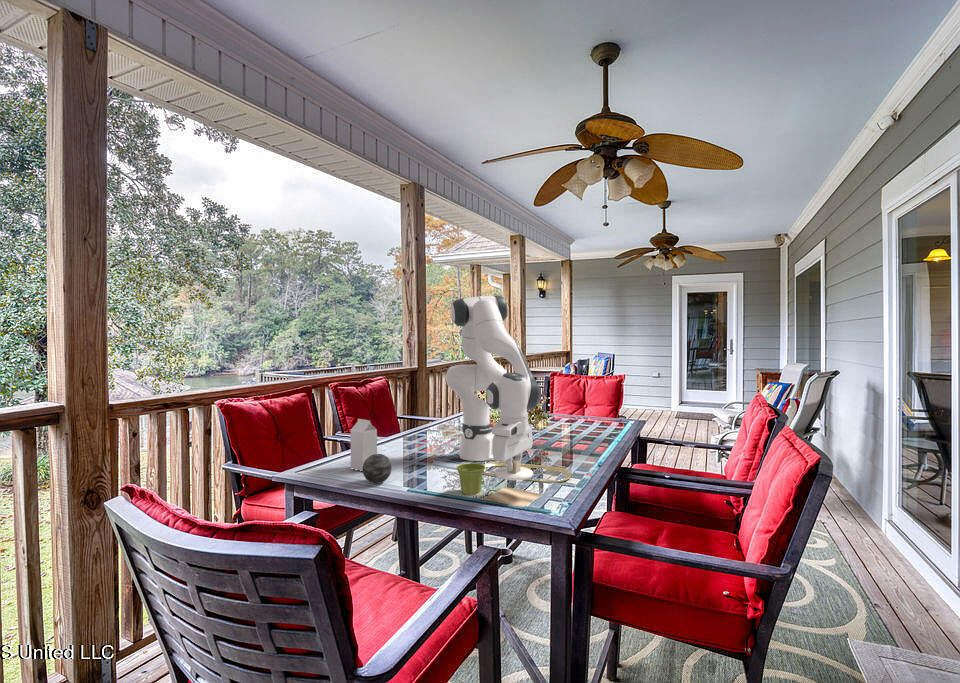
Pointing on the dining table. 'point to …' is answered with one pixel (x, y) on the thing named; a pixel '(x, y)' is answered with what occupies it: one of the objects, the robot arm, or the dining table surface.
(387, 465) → the decorative stone
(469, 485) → the plant pot
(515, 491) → the mat
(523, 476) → the lid
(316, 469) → the dining table surface
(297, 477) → the dining table surface
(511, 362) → the robot arm
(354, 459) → the milk carton
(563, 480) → the oval gold ring
